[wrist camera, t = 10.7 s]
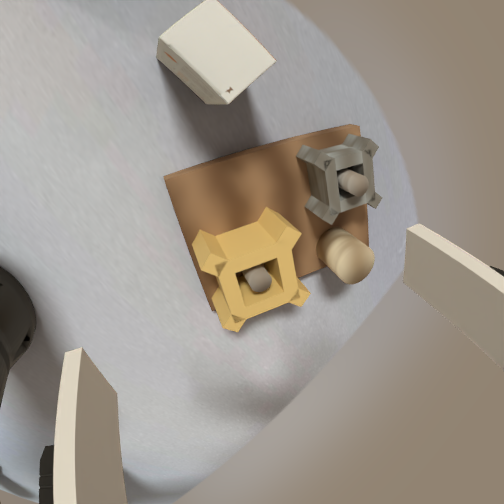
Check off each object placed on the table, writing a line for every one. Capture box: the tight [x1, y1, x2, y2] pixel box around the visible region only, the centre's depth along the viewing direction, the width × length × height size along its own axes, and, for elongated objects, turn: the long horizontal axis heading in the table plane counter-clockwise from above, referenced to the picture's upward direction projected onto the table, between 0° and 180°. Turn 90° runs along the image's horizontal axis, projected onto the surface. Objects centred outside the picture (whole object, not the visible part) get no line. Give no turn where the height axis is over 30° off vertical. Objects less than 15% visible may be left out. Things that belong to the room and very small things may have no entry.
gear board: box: [164, 124, 382, 311], centre depth 37 cm, size 24×18×8 cm
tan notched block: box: [192, 207, 311, 332], centre depth 37 cm, size 11×11×6 cm
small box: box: [156, 0, 276, 105], centre depth 25 cm, size 8×6×10 cm
